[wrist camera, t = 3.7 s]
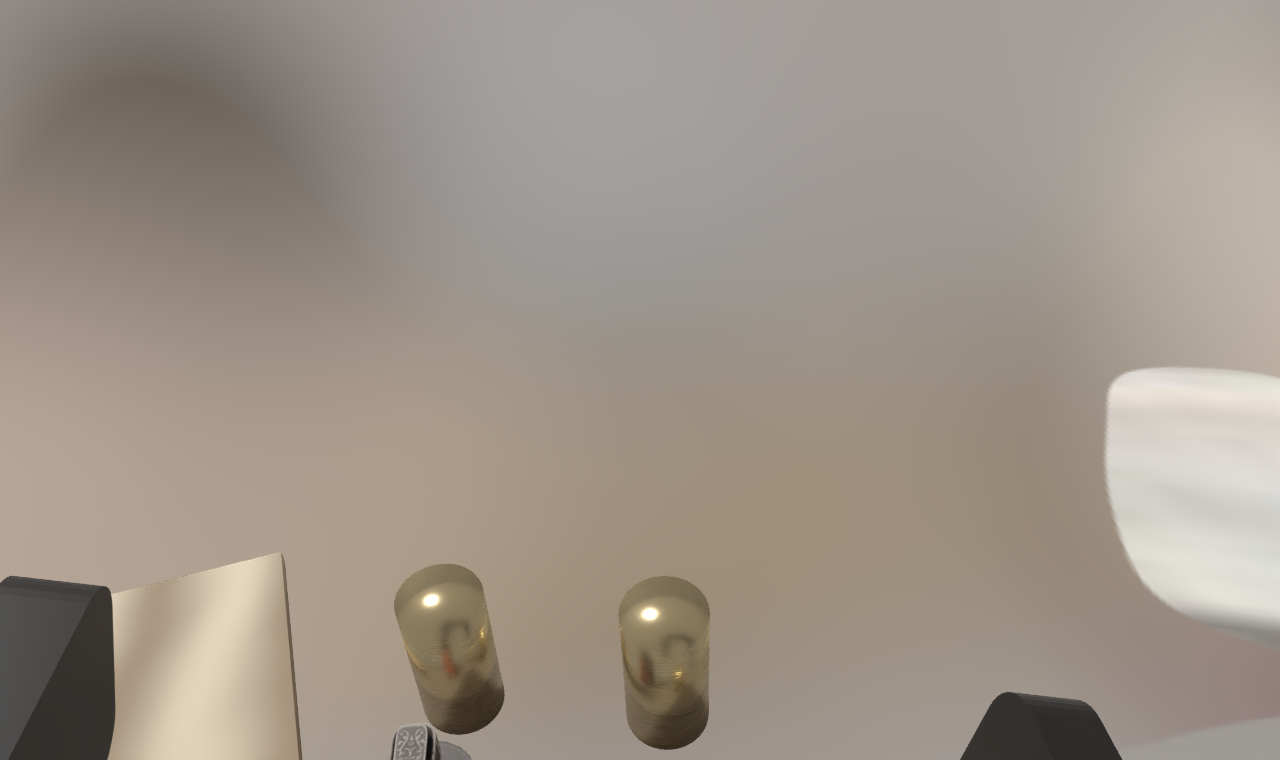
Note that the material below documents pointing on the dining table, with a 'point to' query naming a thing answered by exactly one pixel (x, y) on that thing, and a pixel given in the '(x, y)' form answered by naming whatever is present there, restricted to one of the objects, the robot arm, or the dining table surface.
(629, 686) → the spacer posts
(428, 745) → the lighter
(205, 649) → the pad
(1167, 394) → the dining table surface
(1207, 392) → the dining table surface
